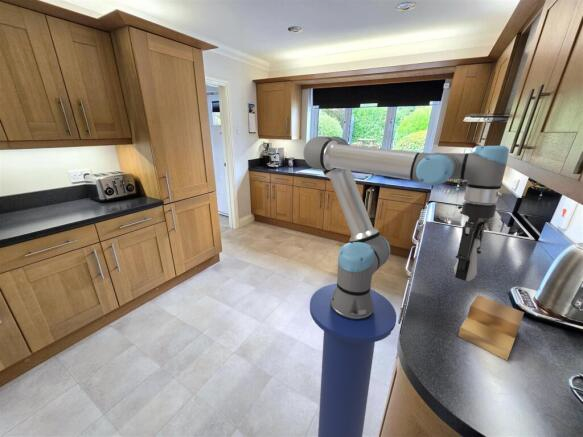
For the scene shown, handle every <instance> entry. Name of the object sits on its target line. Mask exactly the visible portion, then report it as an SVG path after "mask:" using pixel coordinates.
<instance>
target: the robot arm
mask: <svg viewBox="0 0 583 437" xmlns="http://www.w3.org/2000/svg"><path fill="white" fill-rule="evenodd" d="M509 151H510V149H509V148H508V146H506V145H476V146H475V147H474V148H473V151H472V152H467V153H460V152H459V153H458V152H418V151H410V150H400V149H398V150H397V149H389V148H379V147H370V146H369V147H368V146H358V145H351V143H350V142H349V141H348V140H347V139H345V138H343V137H340V136H335V135H334V136H325V135H324V136H322V135H318V136H314V137H312V138H310V139H309V140H308V141H307V142H306V144H305V145H304V148H303V158H304V161H305V163H306V164H307V165H308V166H309V167H310V168H313V169H316V170H322V173H323V175H324V177H326V178H328V179H329V180H330V182H331V185H332V188H333V190H334V193H335V195H336V199H337V201H338V203H339V205H340V208H341V211H342V214H343V216H344V219H345V221H346V225H347V227H348V229H349V233H350V234H351V235H350V238H349V242H348V243H345V244H343V245H342V246H341V248H340V249H339V252H338V256H337V262H338V263H337V279H336V284H337V286H336V288H335V290H334V293H333V295H332V297H331V308H332V310H333V311H334V312H335V313H336V314H337V315H339V316H341V317H343V318H345V319H348V320H355V321H359V320H365V319H367V318H369V317H370V316H371V315H372V314H373V309H374V305H373V301H372V296H371V292H370V289H371V288H372V287H371V285H372V279H373V278H372V277H373V276H374V274H375V273H376V272H377V271H378V270H379V269H380V268H381V267H382V266H383V265H384V264H385V263H386V262H387V261H388V259H389V257H390V255H391V246H390V244H389V242H388V240H387V238H385V237H383V236H382V235H381V233H380V231H379V229H377V228H375V227H374V226H373V223H372V221H371V219H370V216H369V213H368V211H367V208H366V206H365V203H364V201H363V198H362V195H361V193H360V191H359V187H358V185H357V182H356V179H355V177H354V175H353V172H357V173H366V174H371V175H377V176H384V177H390V178H395V179H402V180H403V179H404V180H408V181H414V182H420V183H422V184H423V185H426V186H432V187H433V186H440V185H443V184H444V183H446V182H447V181H449V180H456V181H457V180H458V181H467V183H466V187H465V191H464V197H463V200H464V202H463V204H462V208H461V214H462V215H463V216H465V217H467V218H468V219H467V220H466V221H465V224H464V225H463V226H462V229H461V236H460V240H459V246H458V250H457V254H456V255H455V258H456V259H457V260H458V259H459V260H458V265H457V270H456V275H455V274H454V275H455V276H454V278H455V279H457V280H458V279H459V280H462V281H464V282H467V281H466V279H467V274H468V269H469V265H470V256H471V252H472V249H473V246H474V242H475V239H478V240H479V241H480V246H479V247H478V248H477V255H481V254H482V251H481V248H482V247H481V246H482V241H483V237H484V232H485V227H486V224H487V222H488V219H489V220H490V219H492V218H494V217H495V214H496V209H497V205H496V203H498V199H499V197H501V196H503V193H502V192H500V191H501V188H502V185H503V180H504V176H505V171H506V168H507V164H508V159H509V158H508V157H509ZM352 171H353V172H352Z"/></svg>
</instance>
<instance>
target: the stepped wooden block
mask: <svg viewBox="0 0 583 437" xmlns="http://www.w3.org/2000/svg"><path fill="white" fill-rule="evenodd" d="M524 315H525V312H524V311H521V310H519V309H516V308H514V307H511V306H508V305H506V304H503V303H500V302H498V301H495V300H492V299H490V298H487V297H484V296H482V295H479V294H477V295H476V297H475V298H474V300H473V301H472V302H471V304H470V305H469V308H468V313H467V317H466V318H465V319H464V321H463V323H462V324H461V326H459V327H460V328H459V331H458V335H457V336H458V337H460V338H461V339H463V340H466V341H467V342H469V343H471V344H474V345H475V346H478V347H479V348H481V349H483V350H485V351H487V352H489V353H491V354H493V355H495V356H497V357H499V358H501V359H503V360H505V361H508V359H509V357H510V354H511V351H512V348H513V346H514V343H515V341H516V338H517V336H518V332H519V329H520V326H521V324H522V320H523V318H524Z"/></svg>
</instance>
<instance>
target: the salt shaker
mask: <svg viewBox="0 0 583 437" xmlns="http://www.w3.org/2000/svg"><path fill="white" fill-rule="evenodd" d="M479 246H480V241H479V240H478V239H475V242H474V246H473V249H472V252H471V256H470V265H469V269H468V274H467V279H466V281H465V282H469V281H473V279H474V278H476V277H477V274H478V253H477V248H478V247H479ZM458 260H459V259H458V258H457V260H456V263H455V265H454V266H453V272H454V275H456V270H457V265H458Z"/></svg>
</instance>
